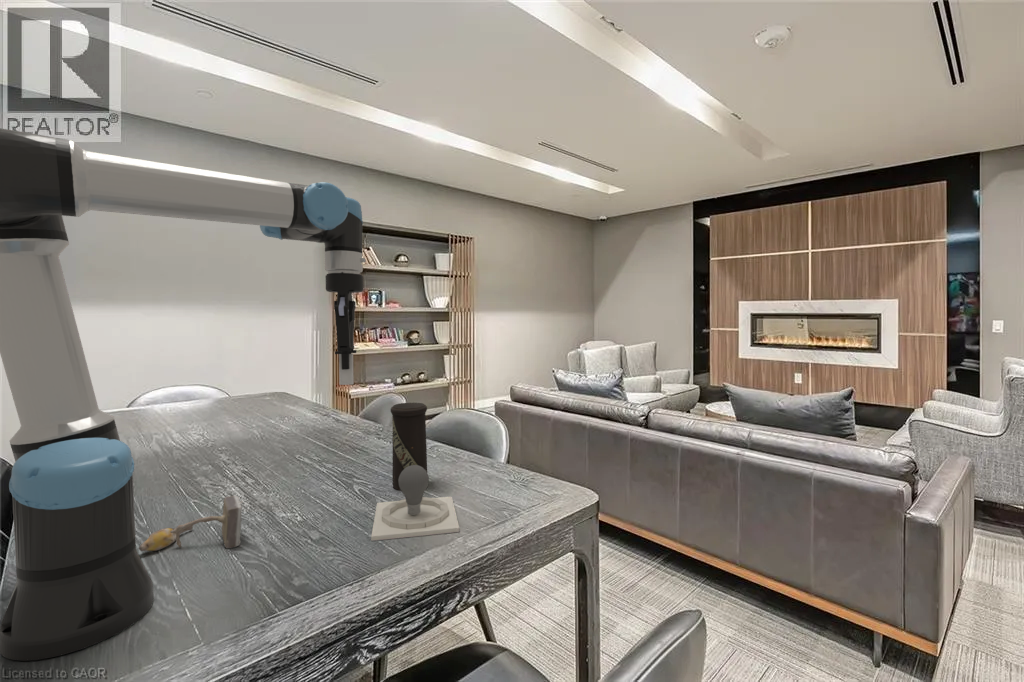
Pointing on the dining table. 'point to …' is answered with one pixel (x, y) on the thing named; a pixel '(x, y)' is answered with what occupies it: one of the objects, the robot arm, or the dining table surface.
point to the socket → (414, 519)
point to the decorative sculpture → (228, 520)
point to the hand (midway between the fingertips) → (346, 384)
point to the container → (408, 438)
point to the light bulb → (413, 486)
